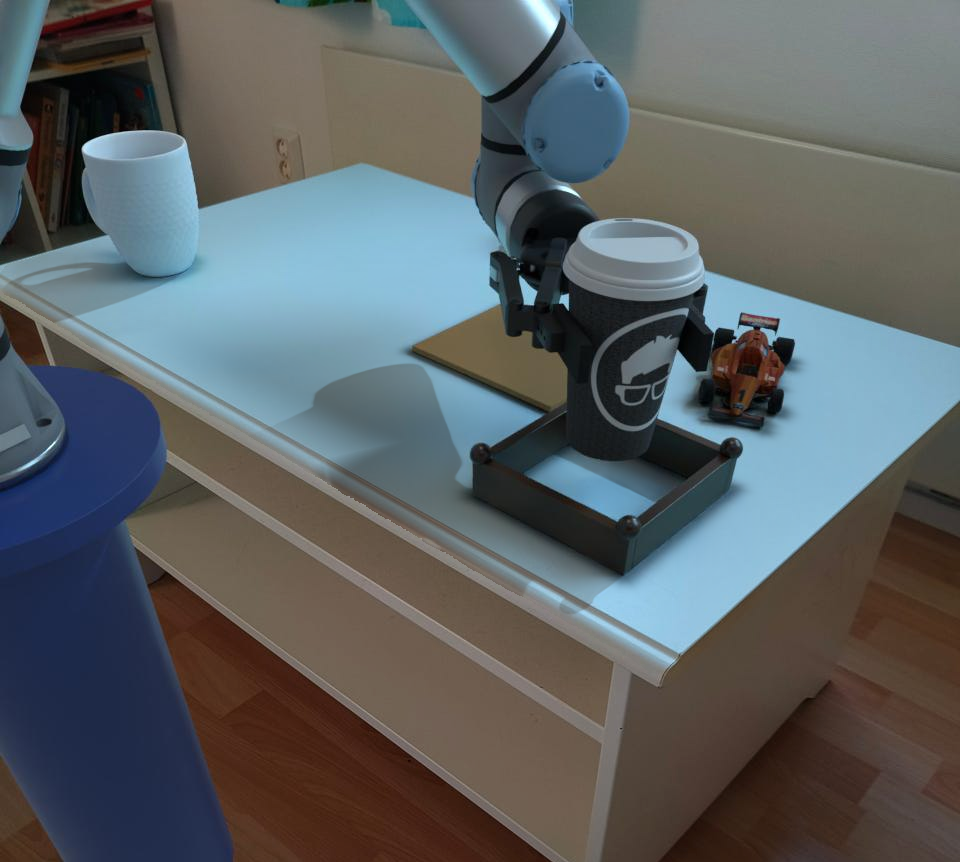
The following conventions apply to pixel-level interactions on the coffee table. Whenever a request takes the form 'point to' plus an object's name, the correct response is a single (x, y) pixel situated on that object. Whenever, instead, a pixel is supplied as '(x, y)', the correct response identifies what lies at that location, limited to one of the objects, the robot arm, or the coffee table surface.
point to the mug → (144, 198)
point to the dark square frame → (585, 526)
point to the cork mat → (500, 359)
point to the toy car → (747, 369)
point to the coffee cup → (627, 329)
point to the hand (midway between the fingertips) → (645, 358)
